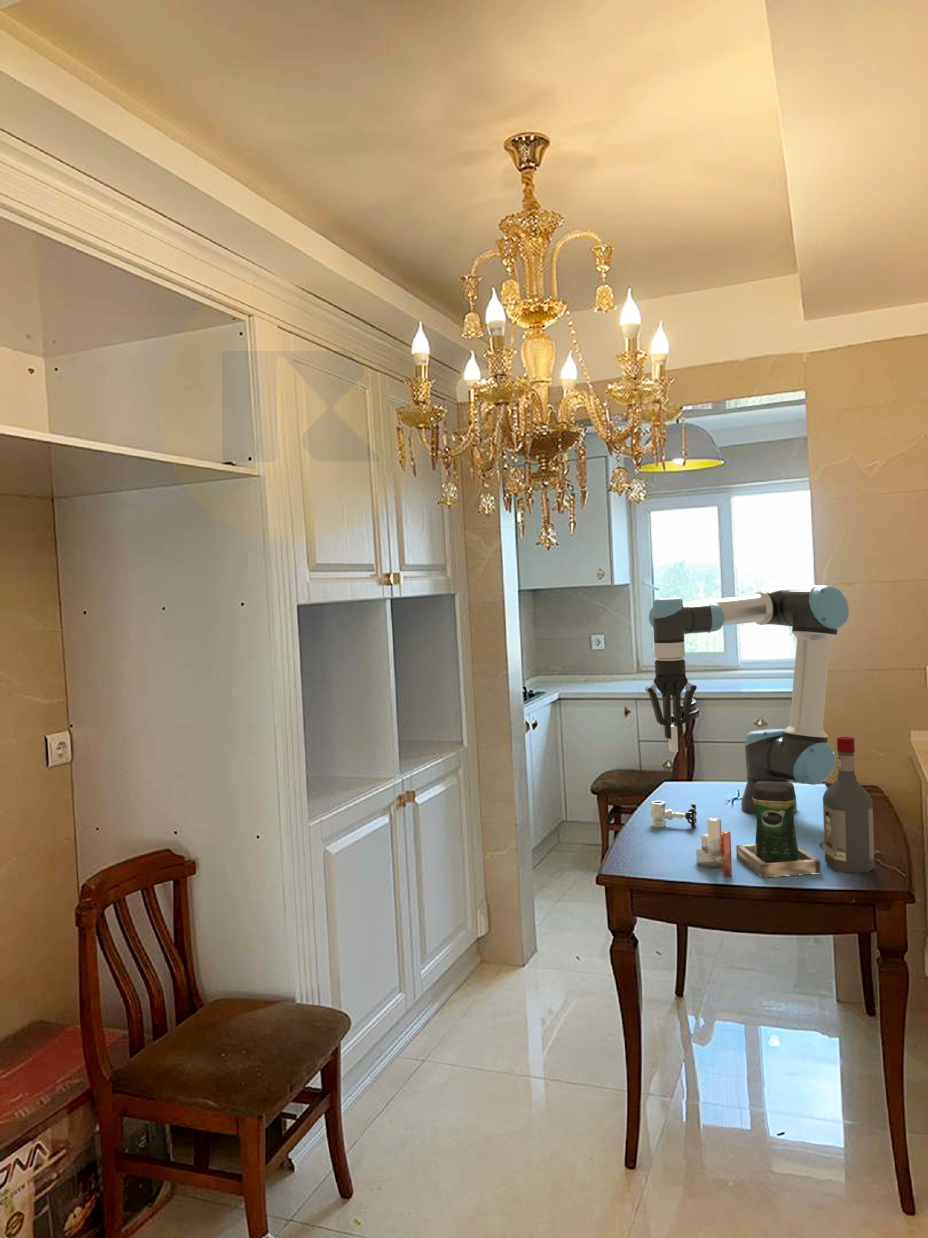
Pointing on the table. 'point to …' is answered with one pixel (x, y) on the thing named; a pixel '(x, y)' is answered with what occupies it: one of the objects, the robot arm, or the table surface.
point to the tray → (778, 863)
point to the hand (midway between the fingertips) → (673, 751)
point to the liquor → (848, 817)
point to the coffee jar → (775, 822)
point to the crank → (713, 838)
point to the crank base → (723, 861)
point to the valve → (670, 814)
